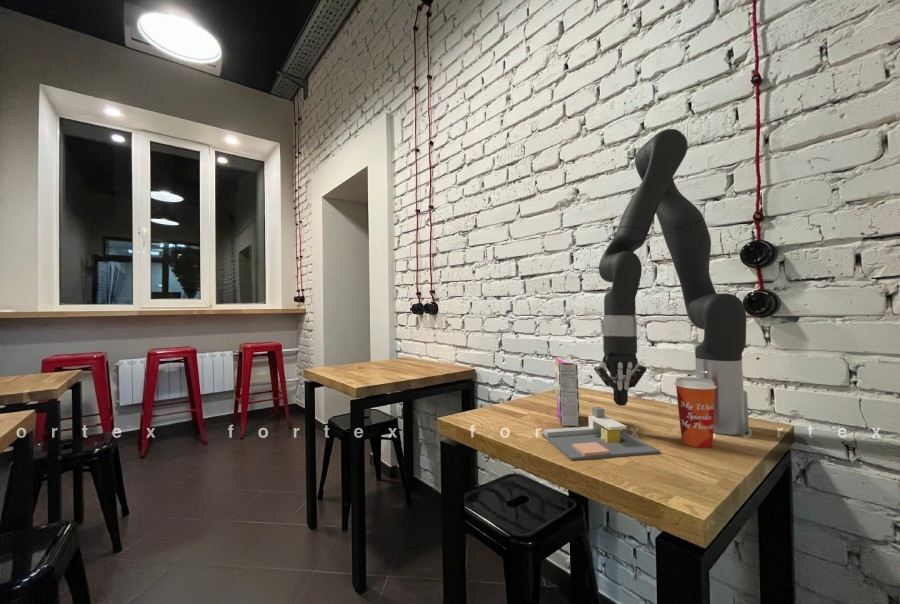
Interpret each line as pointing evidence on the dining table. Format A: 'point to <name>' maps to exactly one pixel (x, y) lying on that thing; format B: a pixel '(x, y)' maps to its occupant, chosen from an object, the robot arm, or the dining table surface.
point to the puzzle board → (594, 444)
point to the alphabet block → (610, 435)
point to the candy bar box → (567, 391)
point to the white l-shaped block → (603, 420)
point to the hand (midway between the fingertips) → (620, 404)
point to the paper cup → (696, 410)
